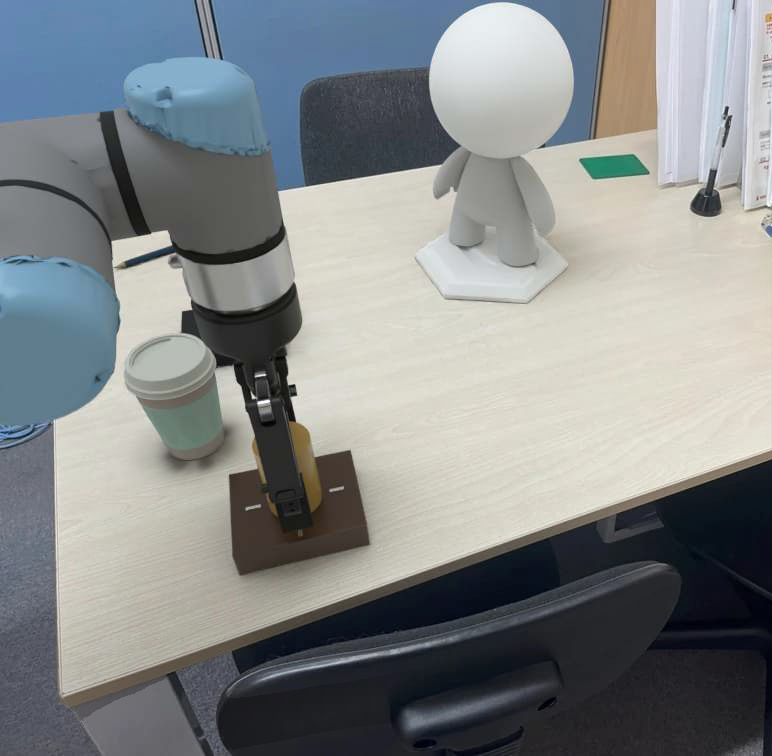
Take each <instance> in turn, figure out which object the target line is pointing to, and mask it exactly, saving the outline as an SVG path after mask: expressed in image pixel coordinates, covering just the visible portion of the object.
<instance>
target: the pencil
mask: <svg viewBox="0 0 772 756" xmlns="http://www.w3.org/2000/svg"><path fill="white" fill-rule="evenodd" d="M171 253H175V250H174V249H173V246H172V244H171V245H168V246H165V247H162V248H159V249H157V250H153V251H150V252H147V253H144V254H142V255H138V256H135V257H132V258H129V259H126V260H124V261H122V262H120V263H119V264H117V265H116V266H113V269H123V268H128V267H132V266H135V265H139V264H142V263H144V262H148V261H151V260H153V259H157V258H160V257H162V256H166V255H168V254H171Z"/></svg>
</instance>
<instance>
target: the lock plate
mask: <svg viewBox="0 0 772 756" xmlns="http://www.w3.org/2000/svg"><path fill="white" fill-rule="evenodd" d="M315 461H316V466H317V470H318V475H319V480H320V485H321V489H322V500H321V503H320V504H319V506H318V507H317V508H316V510H315V511H313V512H312V513H311V514H312V518H313V524H314V527H310V528H305V529H301V530H296V531H292V532H288V533H283V532H282V528H281V525H280V521H279V518H278V516H276V515H275V514H273V513H272V511H271V510H270V508H269V504H268V501H267V498H266V494H262V493H261V484H262V480H261V477H260V474H259V470H258V468H254V469H251V470H245V471H239V472H235V473H229V474H228V483H229V484H228V486H229V487H228V489H229V506H230V507H229V513H230V514H229V515H230V532H231V533H230V535H231V556H232V557H231V558H232V559H233V562H234V565H235V567H236V571H237V573H238V575H239V576H243V575H248V574H251V573H255V572H260V571H264V570H269V569H273V568H276V567H280V566H285V565H290V564H294V563H297V562H301V561H302V562H303V561H305V560H306V561H307V560H310V559H314V558H318V557H323V556H327V555H331V554H336V553H339V552H344V551H348V550H352V549H357V548H361V547H365V546H368V545H371V542H370V541H371V540H370V534H369V528H368V522H367V518H366V513H365V509H364V504H363V500H362V495H361V489H360V486H359V482H358V481H359V480H358V477H357V472H356V467H355V463H354V459H353V453H352V450H351V449H348V450H347V449H346V450H343V451H338V452H333V453H332V452H331V453H328V454H323V455H318V456H315Z"/></svg>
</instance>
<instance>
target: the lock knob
mask: <svg viewBox="0 0 772 756" xmlns="http://www.w3.org/2000/svg"><path fill="white" fill-rule="evenodd" d="M296 422H297V421H296ZM296 422H291V421H289V424H290V428H291V433H292V438H293V443H294V448H295V453H296V458H297V463H298V468H299V473H301V472H302V475H303V480H304V484H305V488H306V493H307V497H308V501H309V505H310V510H311V513H312V512H313V511H315V510H316V508H317V507H318V506H319V504H320V503H321V500H322V489H321V485H320V480H319V475H318V470H317V466H316V461H315V457H316V456H315V453H314V447H313V442H312V437H311V434H310V433H311V432H310V431H309V430H308V428H306V427H305V426H304V425H303V424H301V423H299V422H297V423H296ZM251 449H252V453H253V456H254V459H255V464H256V467H257V469H258V470H259V474H260V477H261V480H262V484H265V483H266V479H265V475H264V471H263V467H262V463H261V459H260V455H259V451H258V447H257V443H256V439H255V436H254V437H253V440H252V443H251ZM268 494H269V493H267V494H266V498H267V501H268V504H269V508H270V510H271V511H272V513H273V514H275V515H276V516H278V514H277V511H276V507H275V504H272V503H271V502H270V500H269V497H268Z"/></svg>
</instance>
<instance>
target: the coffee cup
mask: <svg viewBox="0 0 772 756" xmlns="http://www.w3.org/2000/svg"><path fill="white" fill-rule="evenodd" d="M216 368H217V367H216V359H215V357H214V355H213V353H212V352H211V350H210V349H209V348H208V347H207V346H206V345H205V344H204V343H203V341H202V340H200V339H199V338H197V337H195V336H193V335H190V334H185V333H181V332H170V333H164V334H158V335H155V336H153V337H149V338H147V339H145V340H144V341H142V342H140V343H139V344H137V345H136V346H134V347H133V348H132V349H131V350H130V351H129V353H128V354H127V356H126V357H125V360H124V369H123V379H124V380H123V381H124V385H125V388H126V390H128V391H129V393H131V394H132V395H134V396H135V397H136V400H137V401H138V403H139V404H140V406H141V408H142V409H143V411H144V412H145V415H146V416H147V417H148V419H149V421H150V423H151V424H152V426H153V427H154V429H155V430H156V432H157V434H158V435H159V437H160V439H161V440H162V442H163V443H164V445H165V447H166V448H167V450H168V452H169V453H170V454H171V455H172V456H173V457H174V458H176V459H178V460H183V461H195V460H199V459H203V458H205V457H208V456H211V454H213V453H214V452H216V451H217V450H218V449H219V448H220V447H221V446H222V445H223V442H224V440H225V430H224V422H223V416H222V410H221V402H220V396H219V389H218V383H217V376H216Z"/></svg>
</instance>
